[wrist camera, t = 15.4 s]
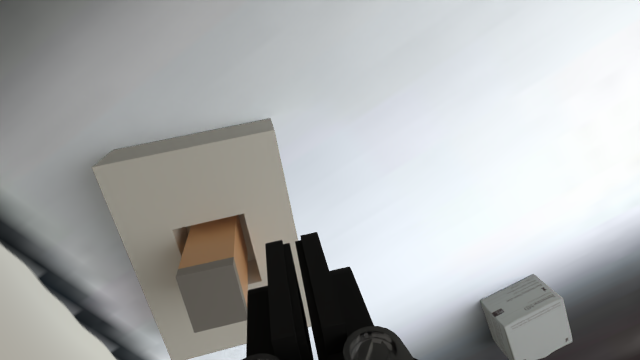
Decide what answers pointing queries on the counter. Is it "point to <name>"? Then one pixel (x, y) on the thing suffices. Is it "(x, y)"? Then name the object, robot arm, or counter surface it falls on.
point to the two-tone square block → (214, 274)
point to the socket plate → (197, 216)
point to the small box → (527, 319)
